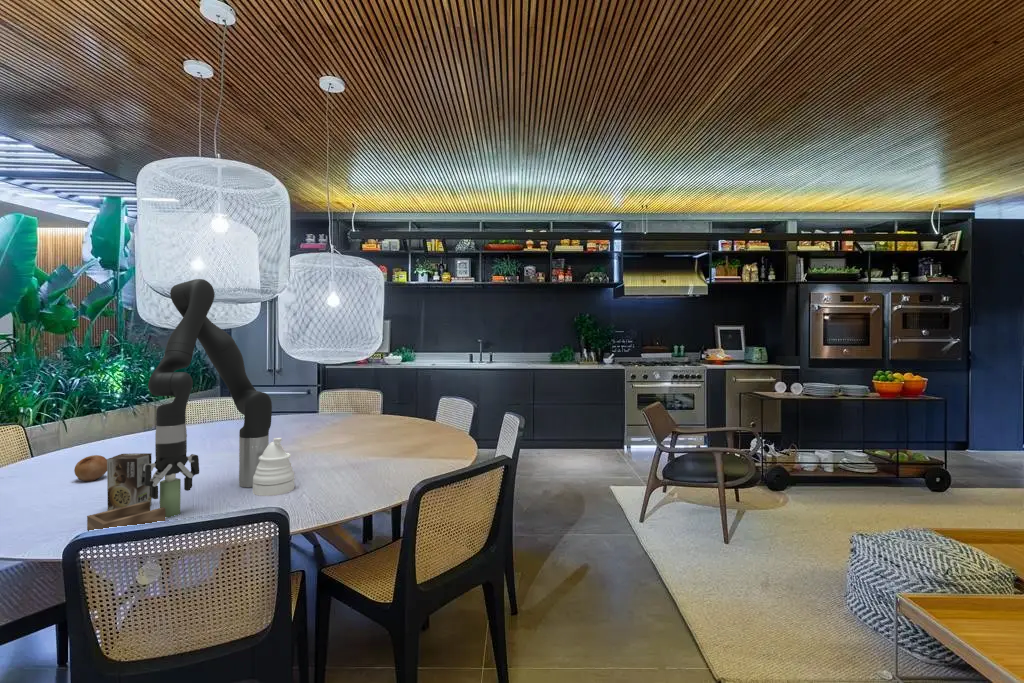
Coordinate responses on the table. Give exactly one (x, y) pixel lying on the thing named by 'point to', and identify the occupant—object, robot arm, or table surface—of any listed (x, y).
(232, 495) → the table surface
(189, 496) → the table surface
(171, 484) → the bottle
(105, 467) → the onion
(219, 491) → the table surface
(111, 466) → the coffee box
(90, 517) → the u rest
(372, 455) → the table surface
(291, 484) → the honey pot
